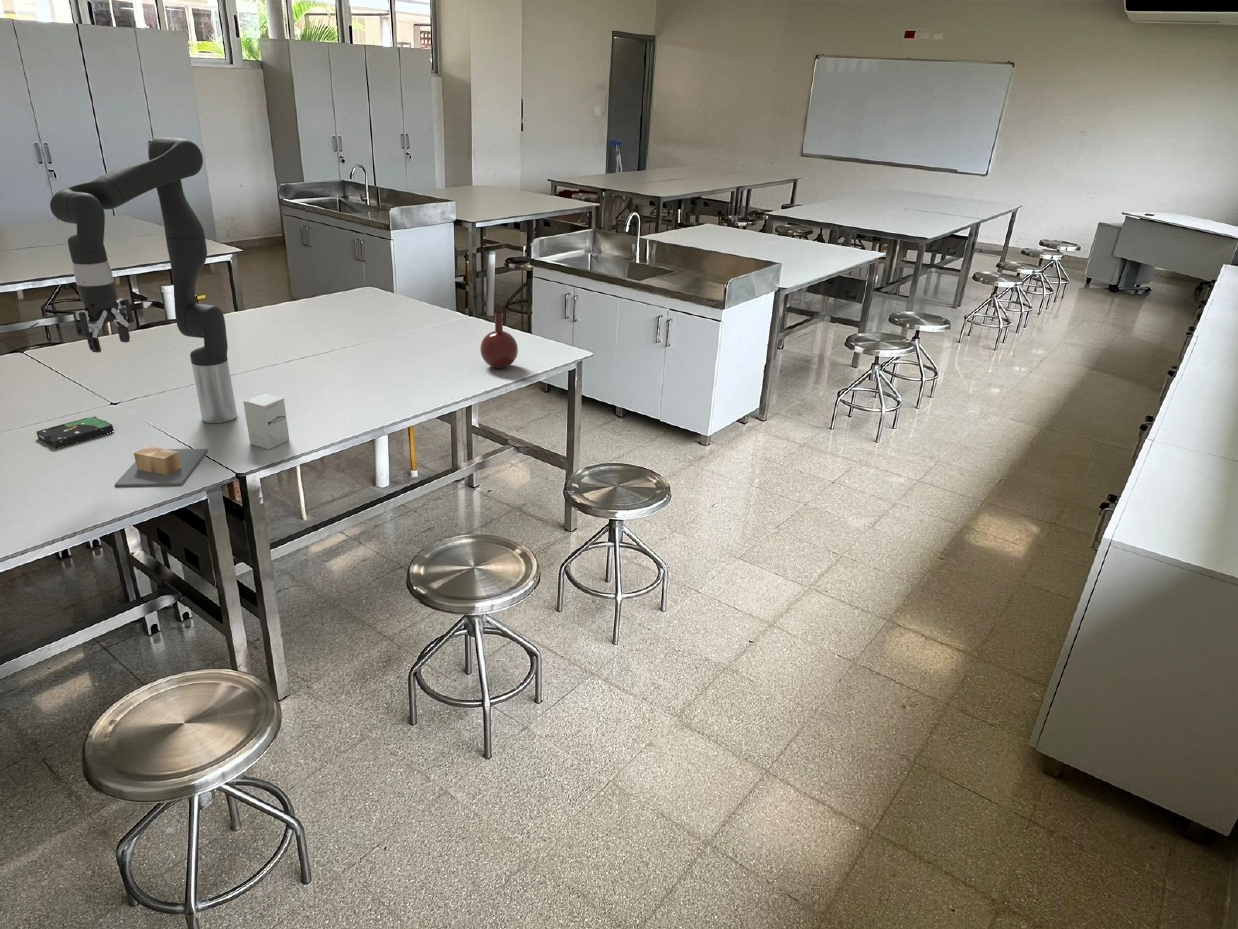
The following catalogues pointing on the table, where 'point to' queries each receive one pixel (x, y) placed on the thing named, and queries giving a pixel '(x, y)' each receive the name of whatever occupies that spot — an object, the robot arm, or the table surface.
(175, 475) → the rubber mat
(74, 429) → the disk drive
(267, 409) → the supplement box
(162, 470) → the oak block
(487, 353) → the round-bottom flask
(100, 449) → the table surface
